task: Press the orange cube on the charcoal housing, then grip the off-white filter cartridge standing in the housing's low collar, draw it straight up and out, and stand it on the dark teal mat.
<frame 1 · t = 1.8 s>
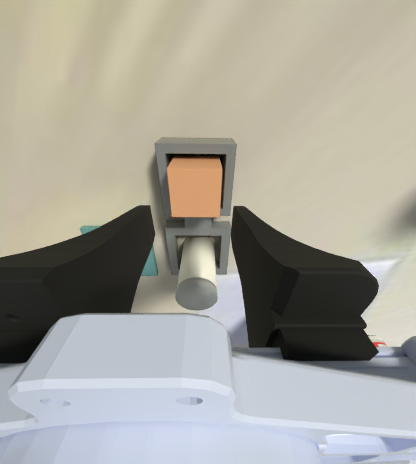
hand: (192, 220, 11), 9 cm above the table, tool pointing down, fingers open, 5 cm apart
orange cube: (196, 185, 16), point 3 cm above the table, slide at 0.0 cm
mat: (123, 251, 25), on the table
housing: (198, 245, 24), on the table
cartridge: (198, 245, 24), resting in housing
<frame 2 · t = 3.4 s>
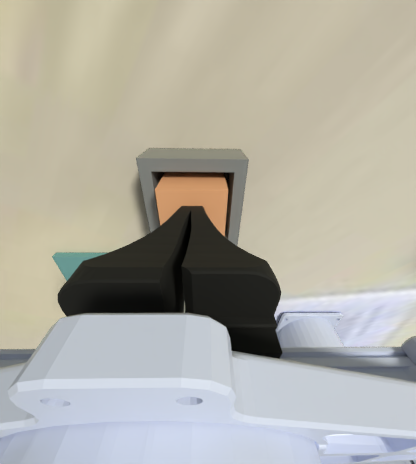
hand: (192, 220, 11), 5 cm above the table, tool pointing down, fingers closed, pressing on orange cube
orange cube: (194, 206, 13), point 3 cm above the table, slide at 0.9 cm, touching gripper
mat: (108, 280, 21), on the table
housing: (197, 274, 20), on the table
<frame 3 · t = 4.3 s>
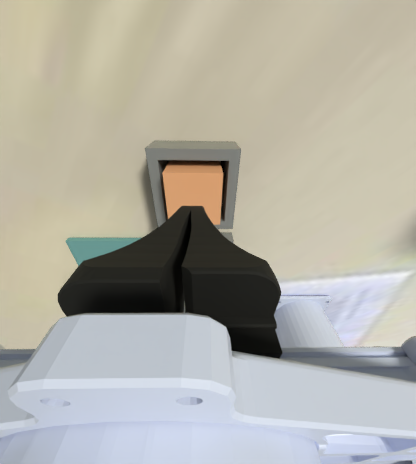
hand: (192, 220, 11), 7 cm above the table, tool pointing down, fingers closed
orange cube: (194, 190, 15), point 2 cm above the table, slide at 1.2 cm
mat: (115, 264, 23), on the table
housing: (197, 258, 22), on the table
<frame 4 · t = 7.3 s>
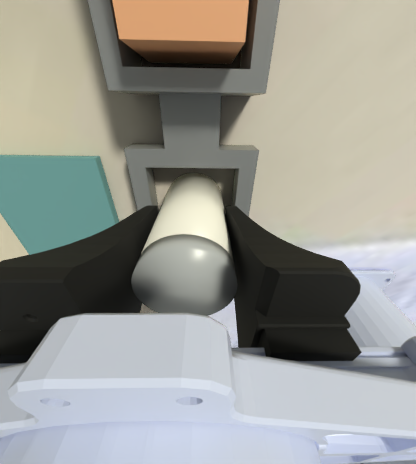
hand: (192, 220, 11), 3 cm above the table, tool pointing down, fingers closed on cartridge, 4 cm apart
mat: (62, 211, 14), on the table
housing: (194, 200, 14), on the table
cartridge: (194, 200, 14), resting in housing, touching gripper
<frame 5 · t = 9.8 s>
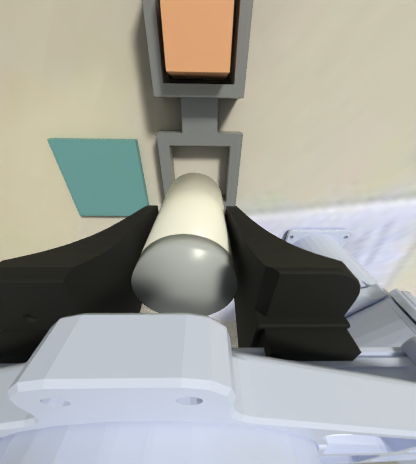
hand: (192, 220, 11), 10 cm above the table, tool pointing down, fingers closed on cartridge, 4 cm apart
orange cube: (198, 36, 12), point 2 cm above the table, slide at 1.2 cm
mat: (106, 180, 20), on the table
housing: (200, 171, 19), on the table
cartridge: (194, 200, 14), point 7 cm above the table, touching gripper
when the fingers open (4 cm above the table, at t = 12.3 s): cartridge stays where it is, resting on mat.
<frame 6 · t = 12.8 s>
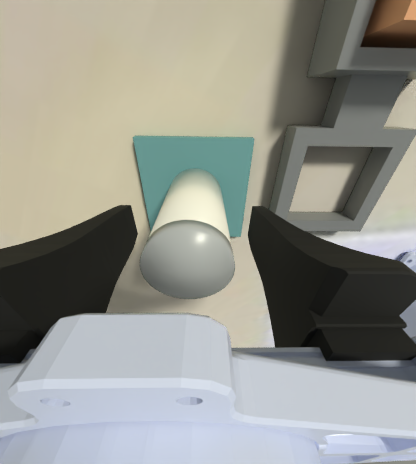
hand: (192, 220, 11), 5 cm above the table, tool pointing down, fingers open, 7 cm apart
mat: (195, 191, 15), on the table
housing: (322, 180, 15), on the table
cartridge: (195, 194, 15), point 1 cm above the table, touching mat
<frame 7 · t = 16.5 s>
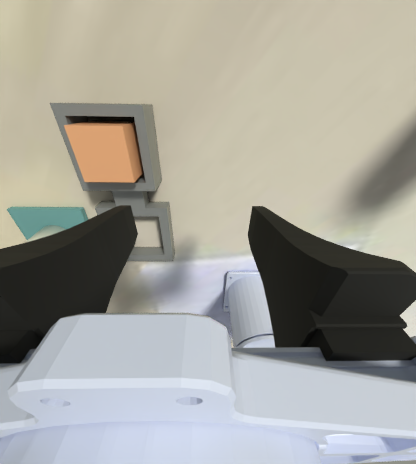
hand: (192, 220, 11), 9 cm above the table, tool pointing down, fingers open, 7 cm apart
orange cube: (112, 150, 16), point 2 cm above the table, slide at 1.2 cm
mat: (62, 236, 23), on the table
housing: (141, 229, 23), on the table
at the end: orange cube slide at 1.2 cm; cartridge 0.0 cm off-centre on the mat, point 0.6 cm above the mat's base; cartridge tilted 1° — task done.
